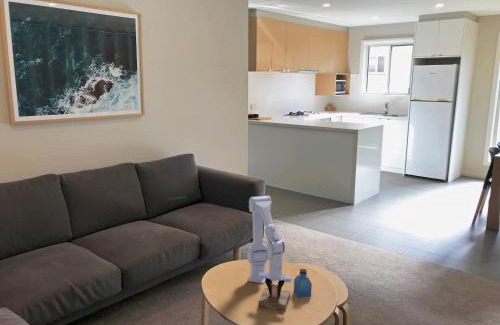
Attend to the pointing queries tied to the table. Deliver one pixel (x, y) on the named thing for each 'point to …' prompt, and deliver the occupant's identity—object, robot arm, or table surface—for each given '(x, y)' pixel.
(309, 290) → the perfume bottle
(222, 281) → the table surface
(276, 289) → the peg
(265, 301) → the socket
